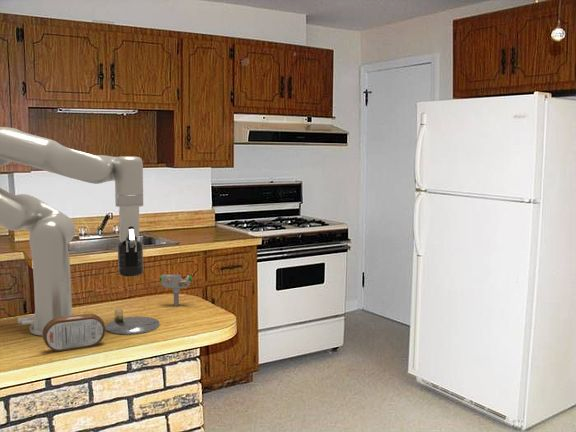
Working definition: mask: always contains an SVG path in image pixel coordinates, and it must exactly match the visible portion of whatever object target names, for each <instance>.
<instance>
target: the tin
mask: <svg viewBox="0 0 576 432" xmlns="http://www.w3.org/2000/svg"><path fill="white" fill-rule="evenodd" d="M105 325H106V324H105V322H104V320H103V318H102V317H100V316H99V315H98V314H94V313H84V314H75V315H72V316H64V317H57V318H54V319H52V320H51V321H49V322H48V323H47V324H46V325H45V327H44V329H43V336H42V339H43V342H44V343H45V345H46V346H47V347H48V348H49V349H50V350H52V351H55V352H63V351H65V352H66V351H71V350H78V349H84V348H85V349H86V348H91V347H95V346H96V345H98V344H100V343H101V342H102V340H103V339H104V337H105V335H106V330H105Z"/></svg>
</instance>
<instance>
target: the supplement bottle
mask: <svg viewBox="0 0 576 432" xmlns="http://www.w3.org/2000/svg"><path fill="white" fill-rule="evenodd" d="M136 239H137V237H136ZM134 240H135V239H134ZM127 241H130V240H127ZM136 241H137V240H136ZM136 246H137V257H138V265H137V266H133V267H126V263H125V252H126V241H123V243H122V242H121V241H120V242H118V244H117V263H118V265H117V268H118V275H120V276H122V277H137V276H139V275H142V274H143V273H144V253H143V252H144V250H143V248H144V247H143V243H142V242H141V241H140V240H139V241H138V242H136Z"/></svg>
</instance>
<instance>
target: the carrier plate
mask: <svg viewBox="0 0 576 432" xmlns="http://www.w3.org/2000/svg"><path fill="white" fill-rule="evenodd" d="M113 314H114V319H113V320H111V321H109V322H107V323H106V324H104V325H105V332H107V333H110V334H114V335H121V336H123V335H124V336H128V335H129V336H131V335H141V334H145V333H149V332H152V331H156V330H157V329H158V328H159V327H160V320H158V319H157V318H153V317H149V316H128V317H127V316H126V317H124V310H123V309H121V308H120V309H119V308H118V309H115V310H114V312H113Z"/></svg>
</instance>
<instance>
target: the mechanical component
mask: <svg viewBox="0 0 576 432" xmlns="http://www.w3.org/2000/svg"><path fill="white" fill-rule="evenodd" d="M186 275H187V274H186ZM158 279H159V281H160V282H161V286H162V287H164V288H166V289H168V288H169V289H172V291H171V293H173V307H179V305H180V301H179V300H180V299H179V297H180V296H179V294H180V292H181V289H186V288H188V287H189V286H190V285H191V282H192V281H193V276H192V275H187V276H186V277H185V279H183V277H182V276H181V274H176V273H175V274H162V275H159V278H158ZM168 280H170V281H168ZM182 283H185V284H182Z"/></svg>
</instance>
